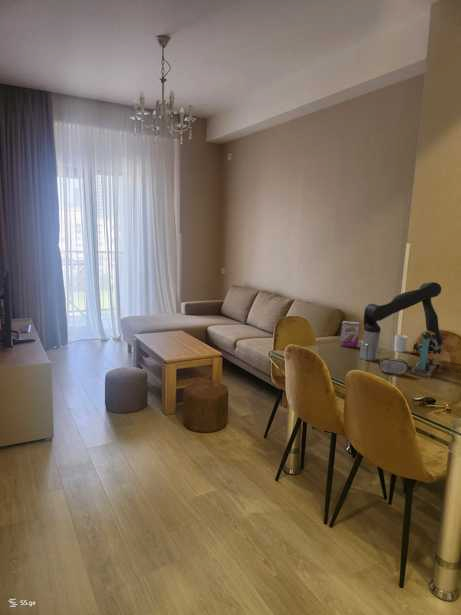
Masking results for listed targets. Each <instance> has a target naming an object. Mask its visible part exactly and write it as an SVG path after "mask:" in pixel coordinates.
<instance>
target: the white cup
mask: <svg viewBox="0 0 461 615" xmlns="http://www.w3.org/2000/svg"><path fill="white" fill-rule="evenodd" d="M408 338H409V337H408V335H404V334H395V335H394V346H393V347H394V348H393V350H394V351H395V352H397V353H398V352H399V353H405V352H406V349H407V343H408Z"/></svg>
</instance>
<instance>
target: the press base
mask: <svg viewBox="0 0 461 615" xmlns="http://www.w3.org/2000/svg"><path fill="white" fill-rule="evenodd" d="M419 360H420V358H419V359H418V360H417V361H416V363H415V364H414V366H412V369H411V370H410V371H409V373H410V375H414V376H415V375H416V376H419V377H424V378H428V379H430V378H431V377H432V376H433V373H434V371H435V370H436V368H437V366H438V364H439V362H438V361H435V360H434V358H432V357H428V356H427V362H426V363H429V367H430V368H429V371H428V372H427V374H426V373H421V372H416V371H415V369H416V367H417V366H418V365H419Z"/></svg>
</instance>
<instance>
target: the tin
mask: <svg viewBox="0 0 461 615" xmlns="http://www.w3.org/2000/svg"><path fill="white" fill-rule="evenodd" d="M378 367H379V369H380V371H381V372H382V373H385V374H390V375H397V376H403V375H406V374H407V373H408V370H409V364H408V362H407V361H405V360H404V359H402V358H401V359H399V358H393V357H383V358H381V359H380V360H379V362H378Z"/></svg>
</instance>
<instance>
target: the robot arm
mask: <svg viewBox="0 0 461 615" xmlns="http://www.w3.org/2000/svg"><path fill="white" fill-rule="evenodd" d="M441 292H442V286H441V285H440V284H439V283H437V282H435V281H432V282H425V283H422V284H421V285H420V286H419V289H414V290H409V291H406V292H402V293H401V294H398V295H396V296H394V297H393V299H392V300H391V301H390V302H388V303H386V304H382V305H378V304H376V303H369V304H367V305H366V307H365V308H364V312H363V335H362V341H361V342H360V347H359V348H360V349H359V358H360V359H362V360H364V361H371V362H373V361H377V360H378V352H379V343H380V335H381V326H380V325H379V324H378V322H380V321H382V320H385V319H386V318H388V317H389V316H391V315H393V314H396V313H398V312H400V311H403V310H405V309H408V308H410V307H413V306H415V305H417V304H419V303H422V307H423V311H424V316H425V317H424V318H425V329H426V332H433V333H434V334H431V338H430V341H429V348H428V354H433V355H436V354H439V355H441V353H442V347H441V346H442V345H443V343H444V339H443V337H442V335H441V331H440V328H439V318H438V314H437V313H436V310H435V308H434V306H433V304H432V298H436V297H437V296H439V295H440V294H441ZM421 347H422V343H421V344H419V343H418V342H417V343H414V344H413V350H415V351H416V352H419V351H420V352H421Z"/></svg>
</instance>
